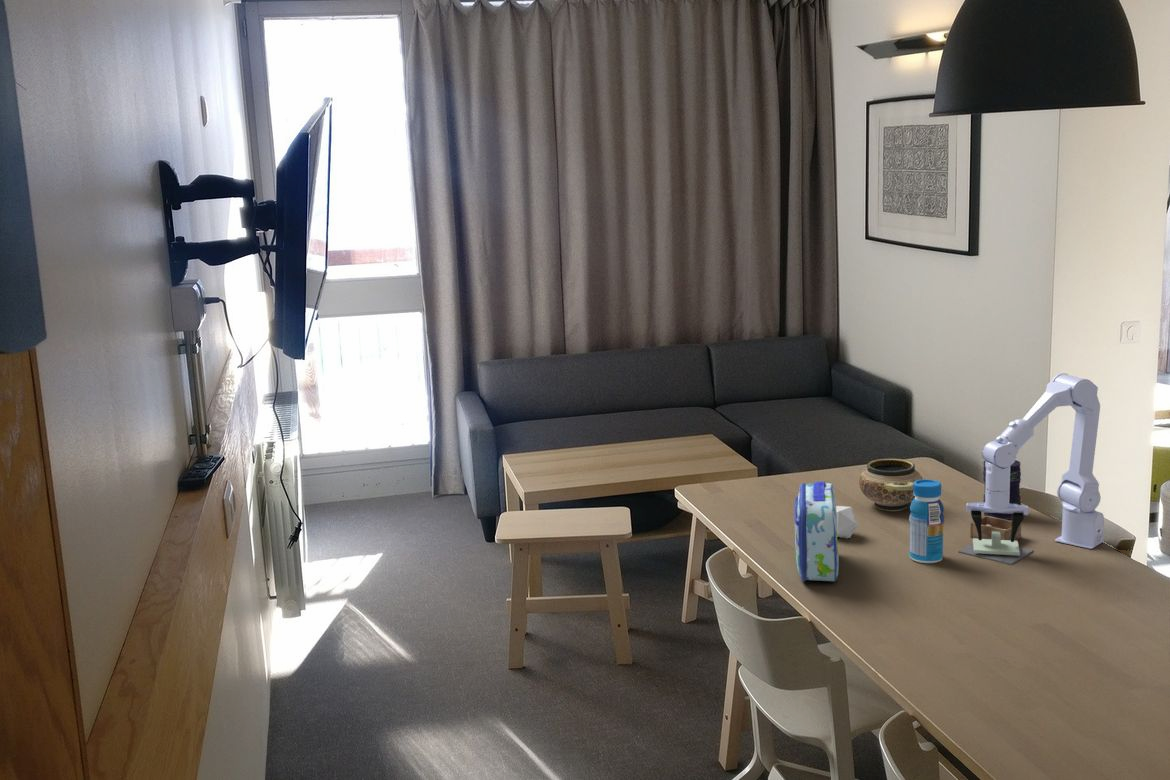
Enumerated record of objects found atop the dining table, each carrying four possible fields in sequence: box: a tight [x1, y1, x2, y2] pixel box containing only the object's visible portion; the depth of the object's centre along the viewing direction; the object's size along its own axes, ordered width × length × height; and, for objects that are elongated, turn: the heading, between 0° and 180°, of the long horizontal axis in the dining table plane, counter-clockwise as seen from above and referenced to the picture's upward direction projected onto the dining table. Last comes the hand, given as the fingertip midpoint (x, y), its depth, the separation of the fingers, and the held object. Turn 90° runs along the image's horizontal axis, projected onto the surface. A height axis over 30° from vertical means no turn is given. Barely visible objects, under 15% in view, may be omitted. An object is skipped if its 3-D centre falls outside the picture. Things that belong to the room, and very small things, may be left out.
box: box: [970, 515, 1022, 541], centre depth 285 cm, size 10×8×4 cm
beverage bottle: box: [908, 478, 945, 564], centre depth 271 cm, size 8×8×20 cm
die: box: [836, 505, 859, 539], centre depth 292 cm, size 8×9×10 cm
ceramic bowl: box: [858, 458, 924, 512], centre depth 313 cm, size 24×18×15 cm
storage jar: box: [982, 460, 1022, 520], centre depth 301 cm, size 10×10×15 cm
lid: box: [972, 531, 1020, 556], centre depth 275 cm, size 11×9×4 cm
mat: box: [958, 542, 1034, 566], centre depth 275 cm, size 14×12×1 cm
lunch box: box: [794, 480, 840, 582], centre depth 268 cm, size 26×11×21 cm, turn 168°
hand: (996, 539), depth 275 cm, fingers open, 7 cm apart
